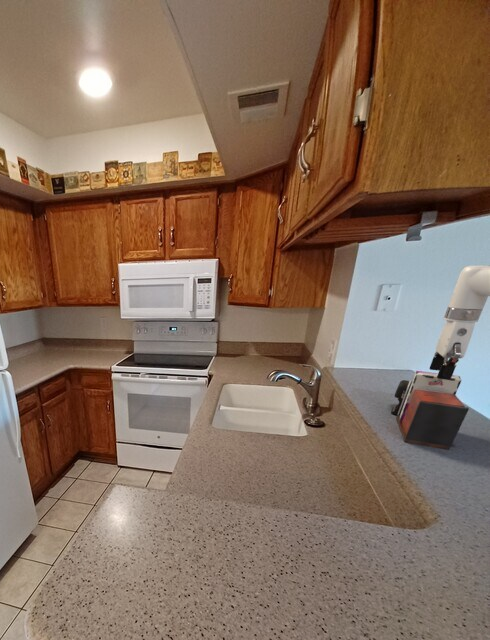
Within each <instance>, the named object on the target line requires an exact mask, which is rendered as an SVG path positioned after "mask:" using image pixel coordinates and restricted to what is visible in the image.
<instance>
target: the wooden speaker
mask: <svg viewBox="0 0 490 640" xmlns="http://www.w3.org/2000/svg"><path fill="white" fill-rule="evenodd" d="M469 410H470V408H469V407H466V406H465V405H464V403H462V401H461V400H460V399H459V397H458V396H457V394H456V395H455V394H449V393H441V392H433V391H425V390H417V389H415V390H414V393H413V395H412V398H411V401H410V403H409V406H408V408H407V411H406V414H405V416H404V419H403V422H400V415H396V418H395V419H396V422H397V424H398V429H399V431H400V433H401V437H402V439H403V442H404V443H408V444H414V445H419V446H426V447H430V448H435V449H440V450H442V449H443V450H445V451H446V450H447V451H450V450H451V447H452V446H453V443H454V441H455V439H456V437H457V435H458V433H459V431H460V429H461V426H462V424H463V422H464V421H465V418H466V416H467V415H468V412H469Z"/></svg>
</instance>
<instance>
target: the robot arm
mask: <svg viewBox="0 0 490 640" xmlns="http://www.w3.org/2000/svg"><path fill="white" fill-rule="evenodd" d="M489 297H490V265H487V264H486V265H485V264H484V265H482V264H481V265H468V266H465V267H463V268H462V270H461V271H460V272H459V275H458V278H457V281H456V283H455V287H454V289H453V292H452V295H451V298H450V299H449V303H448V305H447V309H446V311H445V314H444V317H443V320H444V321H445V324H444V326H443V327H442V330H441V333H440V336H439V338H438V340H437V344H436V347H435V352H434V355H433V358H432V360H431V363H430V366H429V370H430V371H437V373H438V375H437V378H438V379H446V380H450V379H451V377H452V375H454V372H455V369H456V367H457V366H458V362H459V361H460V360H459V359H463V358H465V356H466V354H467V353H466V352H467V351H468V348H469V344H470V342H471V338H472V335H473V332H474V329H475V323H478V322H479V319H480V316H481V314H482V313H483V309H484V308H485V306H486V303H487V301H488V298H489Z"/></svg>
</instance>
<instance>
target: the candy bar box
mask: <svg viewBox="0 0 490 640" xmlns="http://www.w3.org/2000/svg"><path fill="white" fill-rule="evenodd" d="M438 373H439V372H430V371H422V370H416V371H415V372H414V376H413V377H412V380H411V381H412V384H411V386H410V389H409V392H408V395H407V397H406V400H405V403H404V406H403V408H402V411H401V414H400V415H399V416H400V422H403V419H404V416H405V414H406V411H407V408H408V406H409V403H410V401H411V398H412V395H413V393H414V390H415V389H417V390H425V391H433V392H441V393H449V394H455V395H456V396H457V393H458V389H459V388H460V386H461V383H462V381H463V380H462V378H461V376H460V375H455V374H453V375H452V377H451V379H450V380H446V379H438V378H437V375H438Z"/></svg>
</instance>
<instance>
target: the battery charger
mask: <svg viewBox="0 0 490 640" xmlns="http://www.w3.org/2000/svg"><path fill="white" fill-rule="evenodd" d="M412 381H413V380H405V379H403V380H400V382H399V383H398V386H397V388H396V389H395V393H394V398H395V399H397V401H398V403H397V404H396V405H395V406H392V408H391V411H390V413H391V414H392V415H395V416H400V414H401V411H402V408H403V406H404V403H405V400H406V397H407V395H408V392H409V389H410V386H411V384H412Z"/></svg>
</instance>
